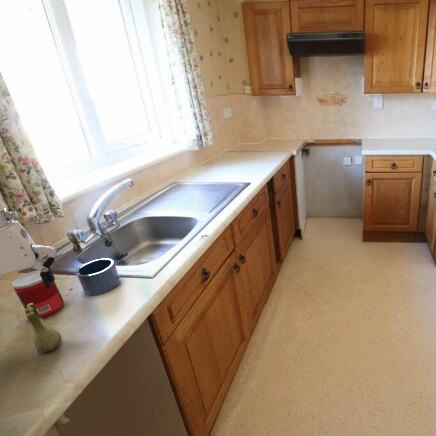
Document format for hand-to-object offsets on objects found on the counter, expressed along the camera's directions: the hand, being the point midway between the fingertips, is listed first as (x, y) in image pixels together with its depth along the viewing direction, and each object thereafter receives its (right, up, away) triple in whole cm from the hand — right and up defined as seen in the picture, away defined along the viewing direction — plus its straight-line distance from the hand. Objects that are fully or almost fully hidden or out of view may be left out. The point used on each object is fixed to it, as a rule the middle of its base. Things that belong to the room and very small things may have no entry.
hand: (23, 291), depth 71 cm
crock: (-3, -5, +29) cm, 30 cm away
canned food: (-12, -10, +20) cm, 25 cm away
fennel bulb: (0, -15, +7) cm, 17 cm away
